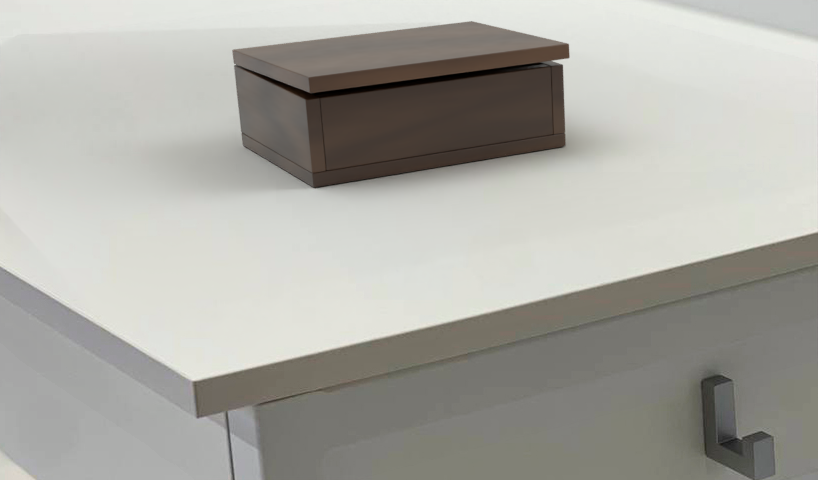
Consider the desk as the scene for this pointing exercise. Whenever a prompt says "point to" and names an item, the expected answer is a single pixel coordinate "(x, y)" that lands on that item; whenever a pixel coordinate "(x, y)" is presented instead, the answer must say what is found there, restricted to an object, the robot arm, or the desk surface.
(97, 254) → the desk surface
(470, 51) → the chest lid
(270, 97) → the chest
